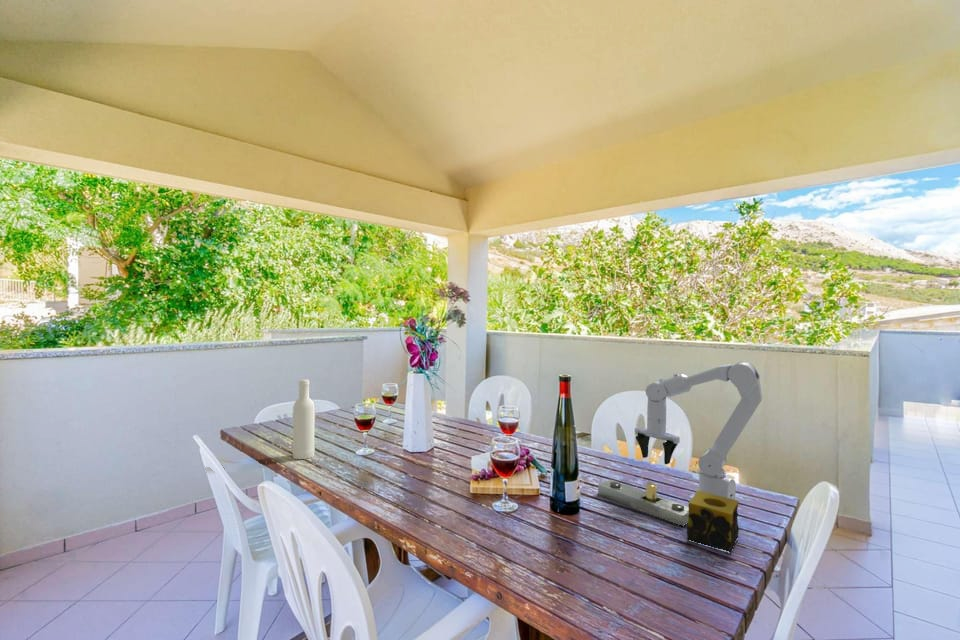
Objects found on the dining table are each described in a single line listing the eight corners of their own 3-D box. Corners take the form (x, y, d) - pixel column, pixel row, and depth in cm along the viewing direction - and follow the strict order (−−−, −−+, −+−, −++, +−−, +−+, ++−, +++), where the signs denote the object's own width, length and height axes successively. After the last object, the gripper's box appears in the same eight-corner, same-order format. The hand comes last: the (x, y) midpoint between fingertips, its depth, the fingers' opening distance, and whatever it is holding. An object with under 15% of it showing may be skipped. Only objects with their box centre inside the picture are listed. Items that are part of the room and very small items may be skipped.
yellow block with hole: (695, 526, 118) (696, 489, 118) (738, 539, 111) (739, 500, 111) (685, 541, 110) (686, 501, 110) (731, 555, 103) (732, 513, 103)
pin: (658, 509, 128) (658, 485, 128) (653, 512, 126) (653, 488, 126) (648, 505, 130) (649, 482, 130) (643, 508, 128) (644, 484, 128)
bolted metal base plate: (694, 519, 121) (694, 506, 121) (682, 526, 117) (682, 513, 117) (611, 488, 143) (611, 477, 142) (598, 493, 138) (598, 482, 138)
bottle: (287, 458, 168) (288, 380, 168) (301, 452, 175) (302, 378, 175) (305, 460, 166) (306, 382, 165) (318, 454, 173) (319, 379, 173)
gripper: (629, 416, 146) (629, 456, 146) (672, 425, 134) (671, 469, 134) (641, 413, 150) (640, 452, 150) (683, 421, 139) (682, 464, 139)
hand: (655, 460), depth 143 cm, fingers open, 7 cm apart
